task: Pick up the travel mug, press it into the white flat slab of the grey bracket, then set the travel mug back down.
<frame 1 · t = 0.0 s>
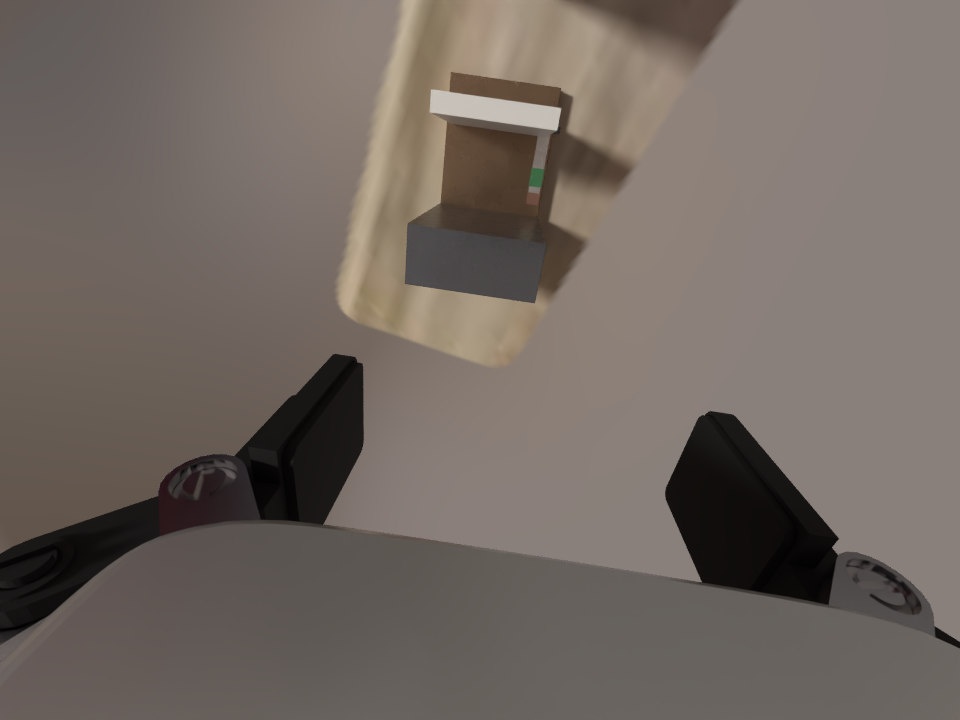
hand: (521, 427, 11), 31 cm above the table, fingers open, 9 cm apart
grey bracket: (494, 174, 37), on the table
white flat slab: (504, 118, 29), point 6 cm above the table, slide at 0.0 cm
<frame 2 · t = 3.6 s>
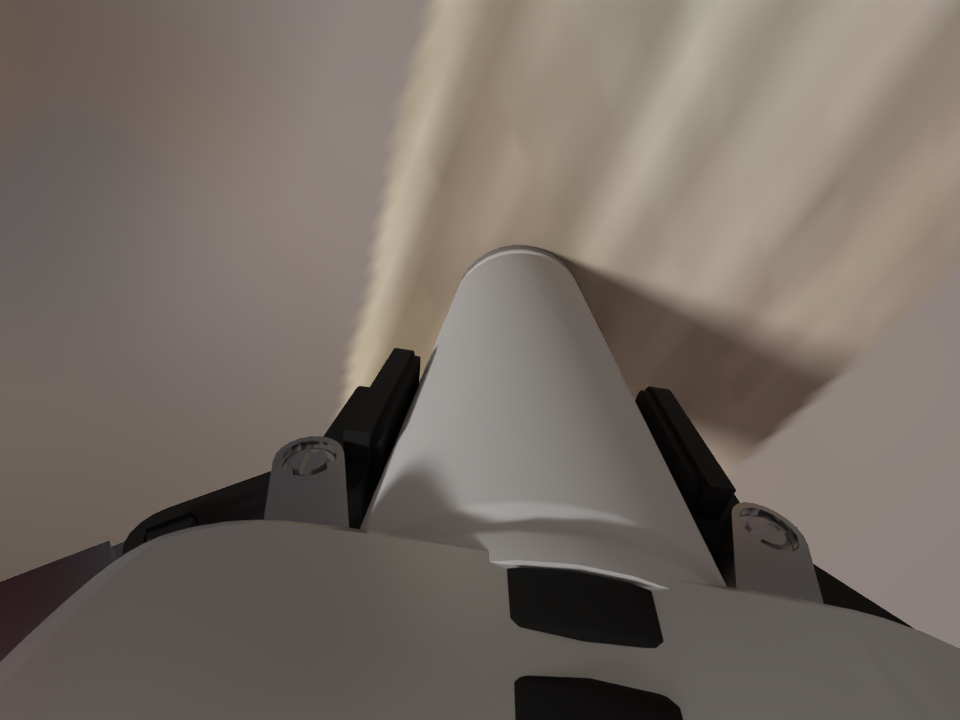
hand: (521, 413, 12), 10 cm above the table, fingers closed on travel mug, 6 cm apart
travel mug: (519, 302, 21), on the table, touching gripper
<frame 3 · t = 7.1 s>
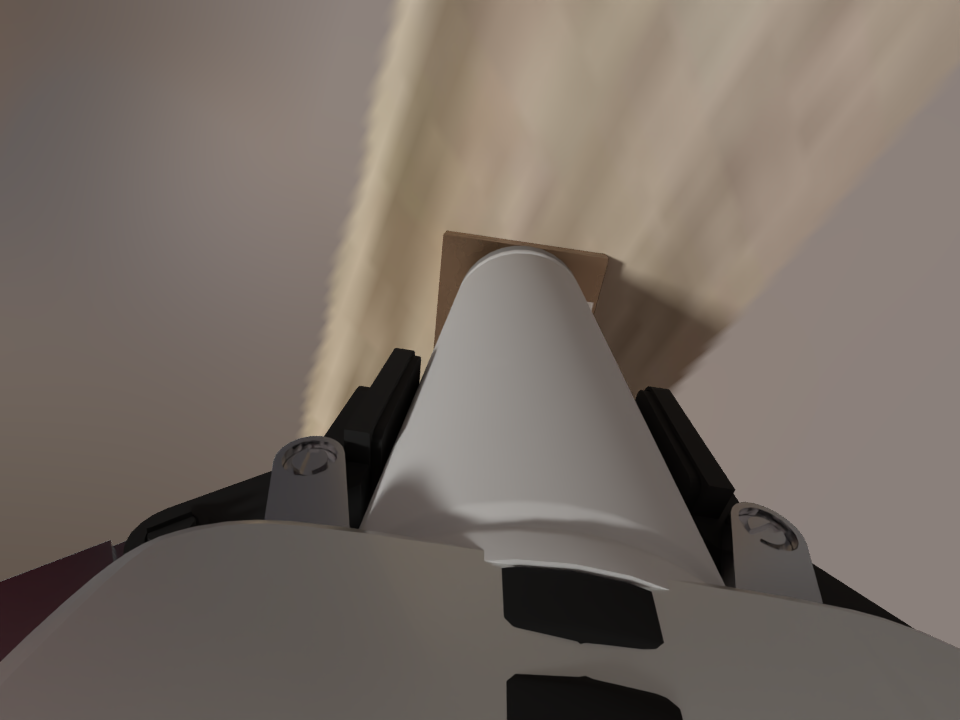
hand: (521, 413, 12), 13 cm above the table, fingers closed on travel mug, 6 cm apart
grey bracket: (506, 352, 26), on the table
travel mug: (520, 303, 21), point 4 cm above the table, touching gripper
when the fingers open (11 cm above the table, at t = 9.8 s): travel mug drops 1 cm, on the table.
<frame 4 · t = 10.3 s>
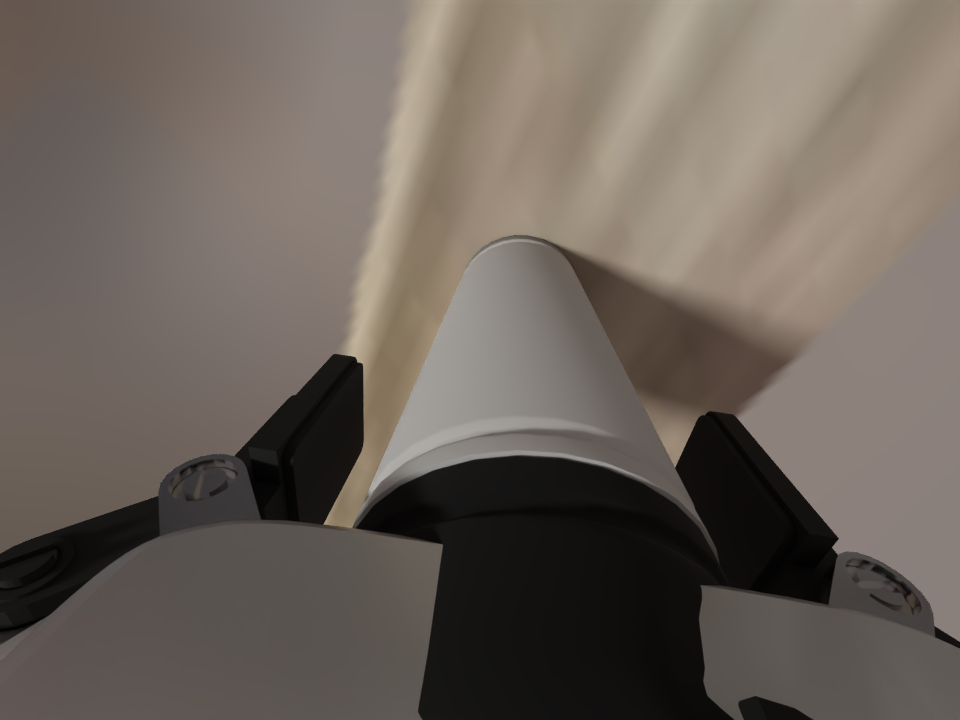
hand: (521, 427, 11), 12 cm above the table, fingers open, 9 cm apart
travel mug: (520, 290, 22), on the table
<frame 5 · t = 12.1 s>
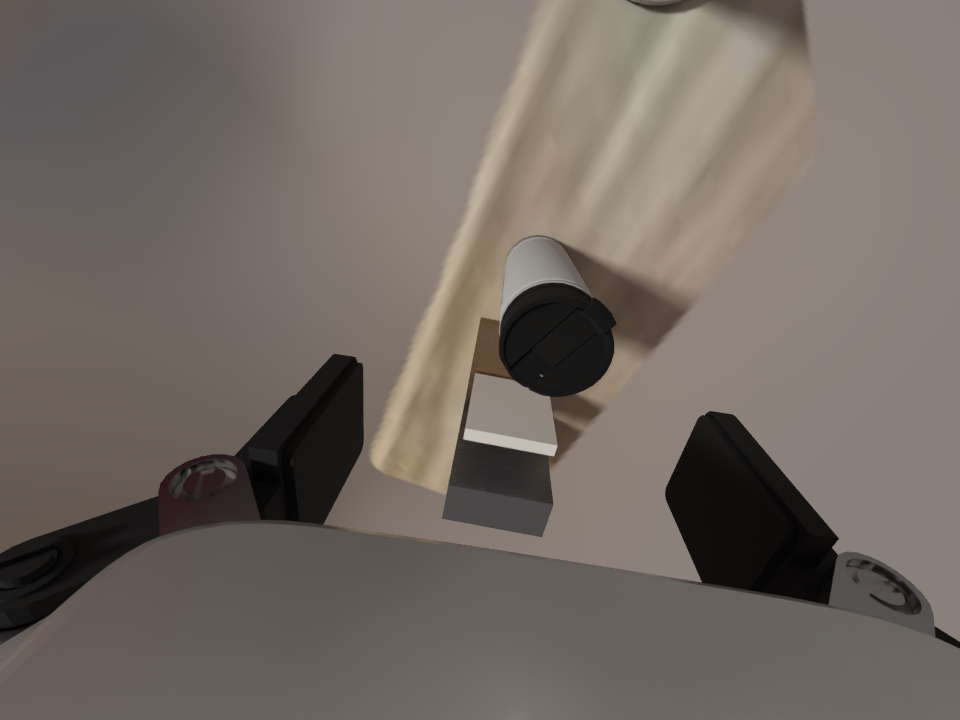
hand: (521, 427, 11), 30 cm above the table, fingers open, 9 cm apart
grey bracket: (509, 382, 45), on the table
white flat slab: (515, 411, 39), point 6 cm above the table, slide at 3.4 cm
travel mug: (537, 266, 39), on the table
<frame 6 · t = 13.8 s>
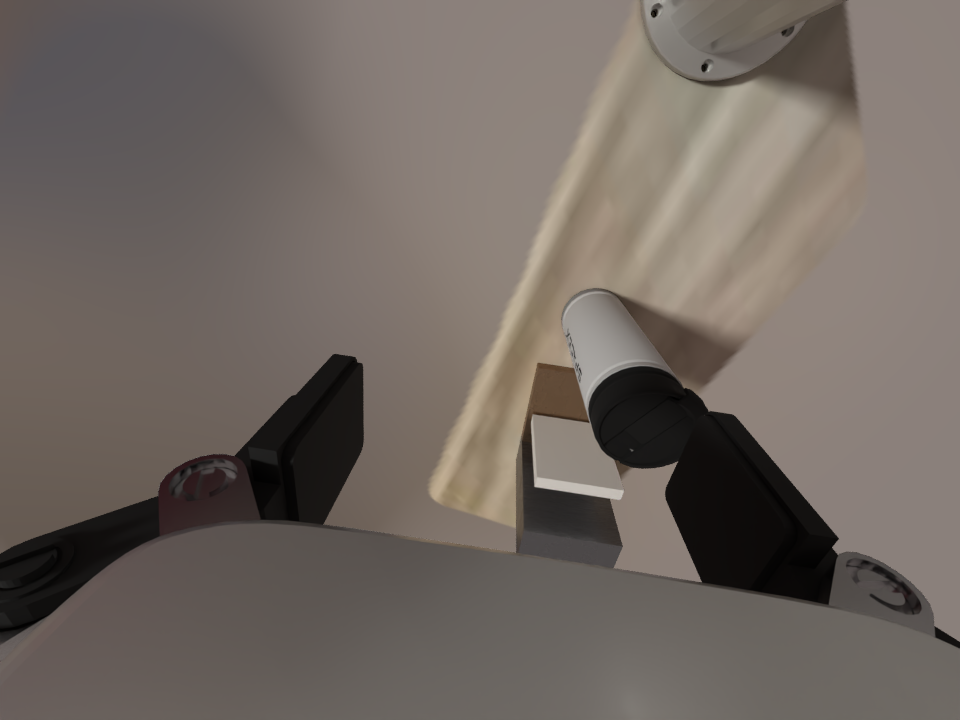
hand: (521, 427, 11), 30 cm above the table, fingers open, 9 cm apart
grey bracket: (563, 420, 47), on the table
white flat slab: (577, 453, 41), point 7 cm above the table, slide at 3.4 cm
travel mug: (592, 315, 41), on the table
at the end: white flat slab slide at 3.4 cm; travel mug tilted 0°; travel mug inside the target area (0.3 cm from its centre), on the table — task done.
